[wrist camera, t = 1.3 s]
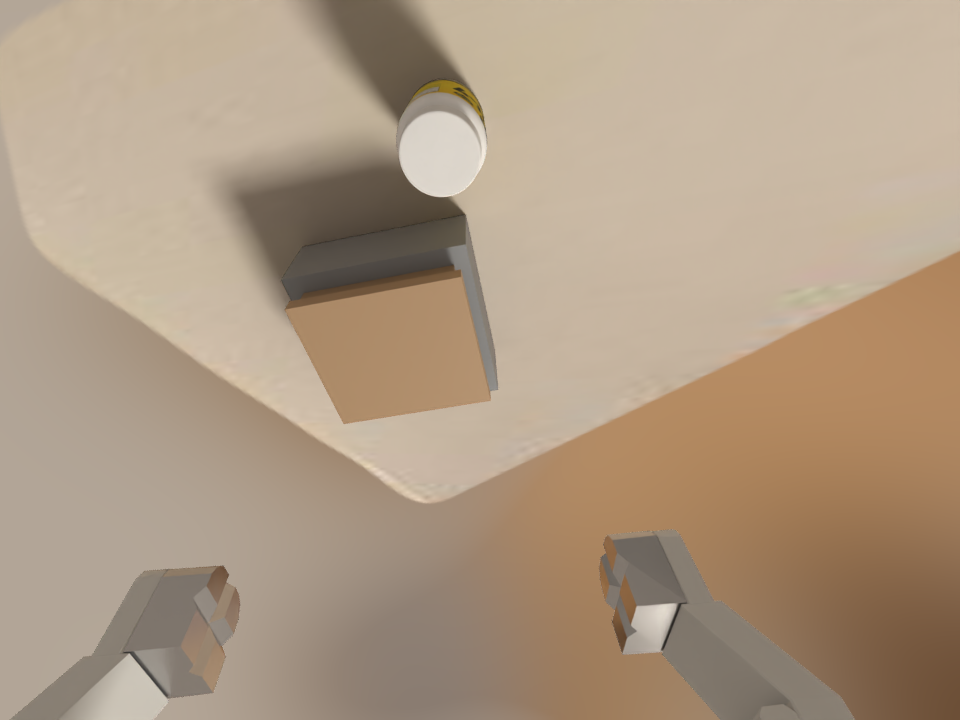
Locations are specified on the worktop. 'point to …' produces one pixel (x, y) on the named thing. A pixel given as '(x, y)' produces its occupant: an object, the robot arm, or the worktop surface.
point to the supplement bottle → (442, 138)
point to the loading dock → (396, 261)
